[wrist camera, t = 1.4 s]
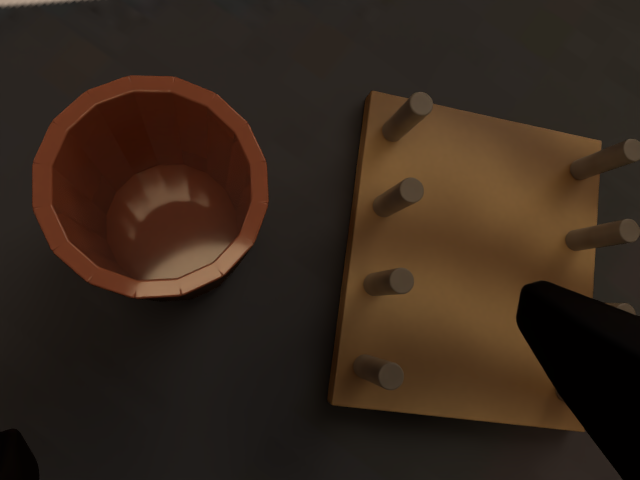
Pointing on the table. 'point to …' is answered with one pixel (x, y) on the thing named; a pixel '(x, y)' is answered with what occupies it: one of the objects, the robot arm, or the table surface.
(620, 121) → the table surface
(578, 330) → the robot arm
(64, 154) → the cup
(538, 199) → the dish rack
